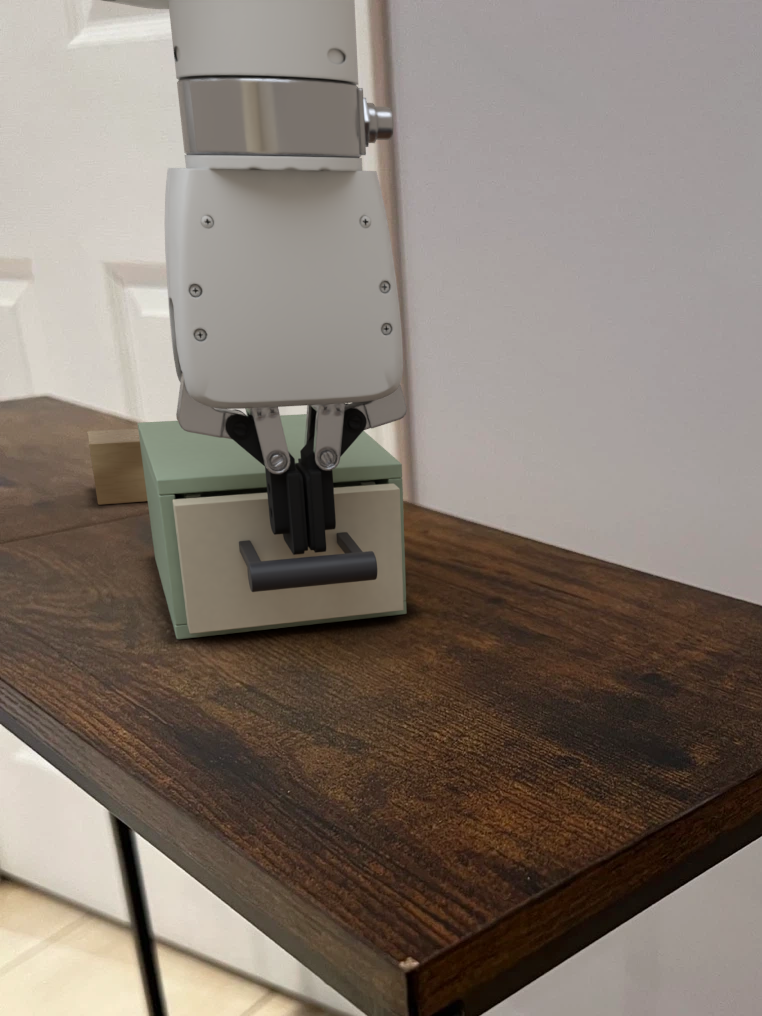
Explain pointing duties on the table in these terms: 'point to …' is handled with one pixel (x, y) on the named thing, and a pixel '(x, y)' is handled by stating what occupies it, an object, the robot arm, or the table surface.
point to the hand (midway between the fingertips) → (304, 545)
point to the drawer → (287, 559)
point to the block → (117, 466)
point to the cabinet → (227, 466)
